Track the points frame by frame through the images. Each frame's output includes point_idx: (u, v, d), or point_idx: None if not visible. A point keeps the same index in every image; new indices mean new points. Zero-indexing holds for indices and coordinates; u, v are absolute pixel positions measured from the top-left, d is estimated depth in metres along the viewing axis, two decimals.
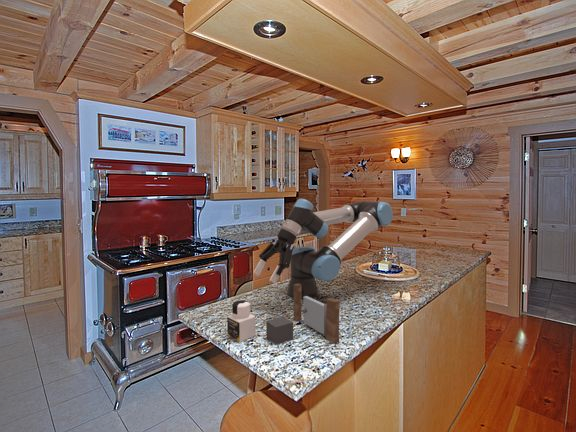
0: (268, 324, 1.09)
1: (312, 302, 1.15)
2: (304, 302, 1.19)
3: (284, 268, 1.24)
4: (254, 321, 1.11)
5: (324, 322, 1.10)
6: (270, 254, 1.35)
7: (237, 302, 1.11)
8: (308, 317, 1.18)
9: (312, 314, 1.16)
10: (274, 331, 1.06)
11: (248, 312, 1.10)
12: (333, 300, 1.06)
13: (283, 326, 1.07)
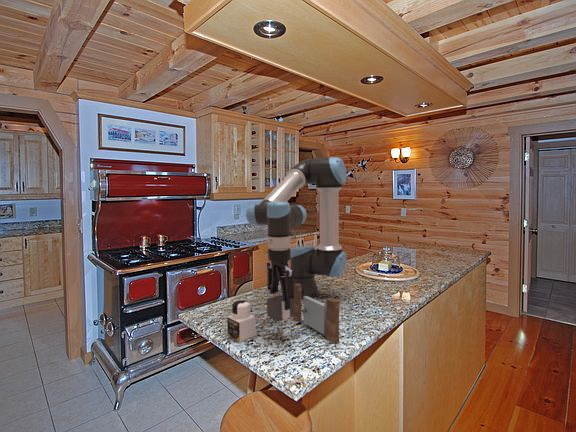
0: (269, 302, 1.09)
1: (312, 302, 1.15)
2: (304, 302, 1.19)
3: None
4: (254, 321, 1.11)
5: (324, 322, 1.10)
6: (276, 281, 1.10)
7: (237, 302, 1.11)
8: (308, 317, 1.18)
9: (312, 314, 1.16)
10: (274, 308, 1.06)
11: (248, 312, 1.10)
12: (333, 300, 1.06)
13: None
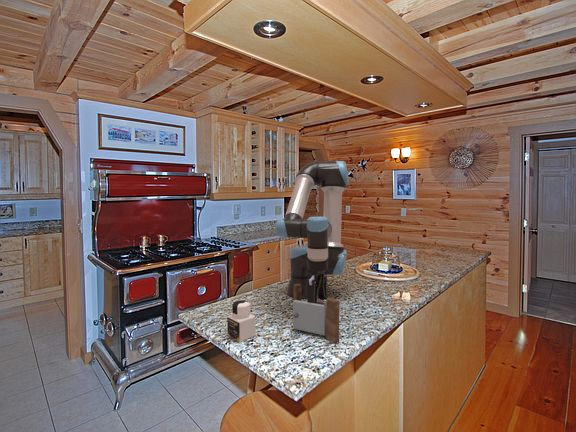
0: None
1: (307, 305, 1.12)
2: (294, 307, 1.15)
3: None
4: (254, 321, 1.11)
5: (325, 322, 1.10)
6: (320, 288, 1.21)
7: (237, 302, 1.11)
8: (301, 321, 1.14)
9: (307, 317, 1.13)
10: None
11: (248, 312, 1.10)
12: (333, 300, 1.06)
13: None
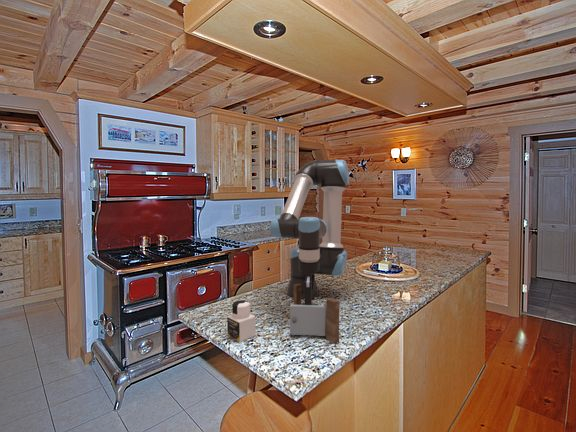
0: None
1: (306, 308, 1.10)
2: (292, 311, 1.10)
3: None
4: (254, 321, 1.11)
5: None
6: None
7: (237, 302, 1.11)
8: (299, 325, 1.10)
9: (306, 320, 1.10)
10: None
11: (248, 312, 1.10)
12: (333, 300, 1.06)
13: None
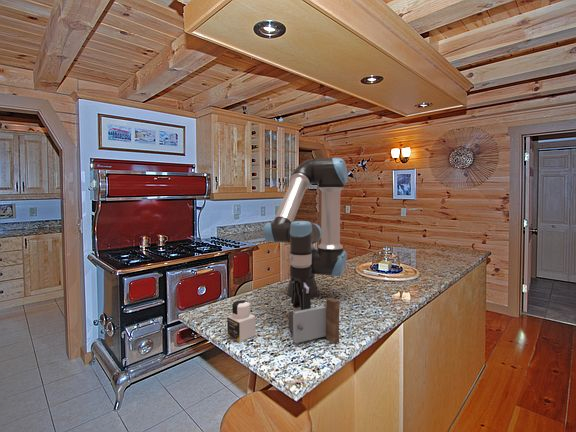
0: (289, 315, 1.15)
1: (310, 312, 1.06)
2: (297, 319, 1.04)
3: None
4: (254, 321, 1.11)
5: None
6: (298, 296, 1.16)
7: (237, 302, 1.11)
8: (303, 332, 1.06)
9: (310, 324, 1.06)
10: None
11: (248, 312, 1.10)
12: (333, 300, 1.06)
13: None
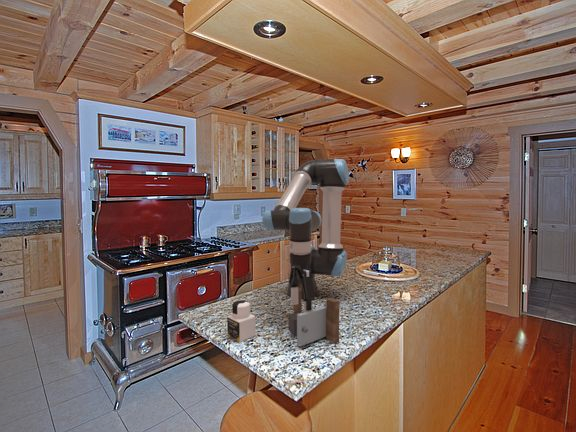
0: (289, 317, 1.15)
1: (313, 313, 1.05)
2: (301, 321, 1.02)
3: None
4: (254, 321, 1.11)
5: None
6: (296, 279, 1.18)
7: (237, 302, 1.11)
8: (307, 334, 1.04)
9: (313, 326, 1.05)
10: (293, 324, 1.11)
11: (248, 312, 1.10)
12: (333, 300, 1.06)
13: None
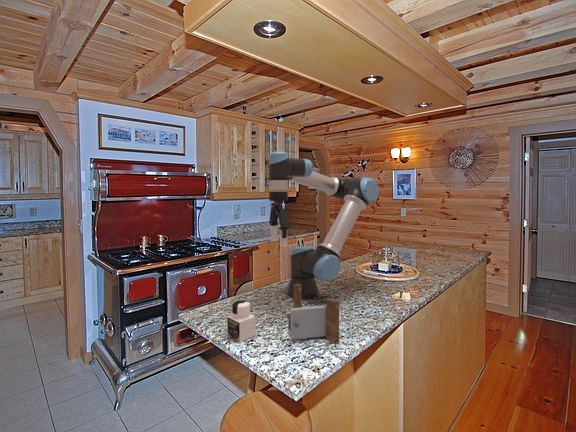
0: (289, 317, 1.15)
1: (307, 310, 1.08)
2: (293, 316, 1.07)
3: (287, 229, 1.23)
4: (254, 321, 1.11)
5: None
6: (275, 217, 1.34)
7: (237, 302, 1.11)
8: (300, 329, 1.08)
9: (307, 323, 1.08)
10: None
11: (248, 312, 1.10)
12: (333, 300, 1.06)
13: None
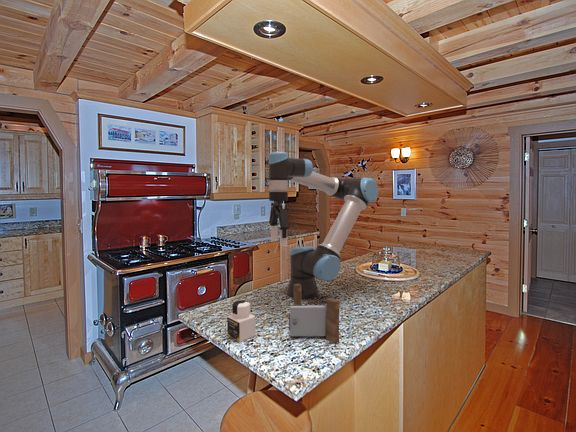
0: None
1: (306, 309, 1.09)
2: (292, 313, 1.09)
3: (287, 229, 1.23)
4: (254, 321, 1.11)
5: None
6: (275, 217, 1.34)
7: (237, 302, 1.11)
8: (299, 327, 1.09)
9: (306, 321, 1.09)
10: None
11: (248, 312, 1.10)
12: (333, 300, 1.06)
13: None
